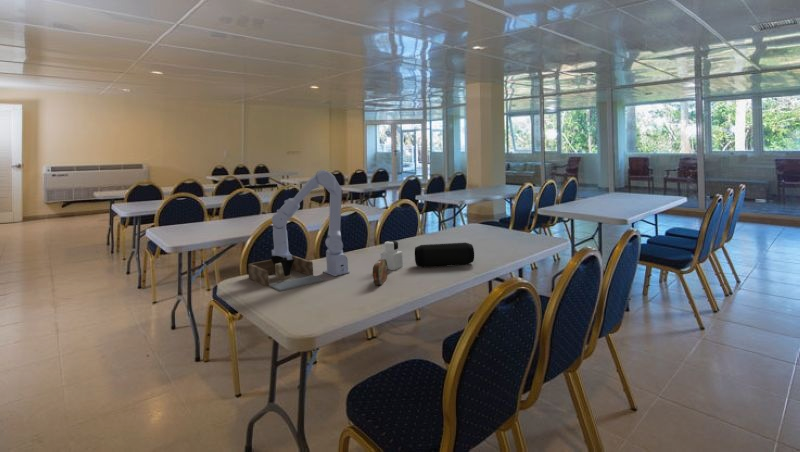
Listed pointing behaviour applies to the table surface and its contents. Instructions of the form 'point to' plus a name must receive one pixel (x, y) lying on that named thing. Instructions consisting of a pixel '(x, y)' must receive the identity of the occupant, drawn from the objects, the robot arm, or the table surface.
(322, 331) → the table surface
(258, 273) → the wooden u-shaped frame
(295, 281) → the mat
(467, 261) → the portable speaker
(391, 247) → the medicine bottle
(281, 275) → the block
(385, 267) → the tin
